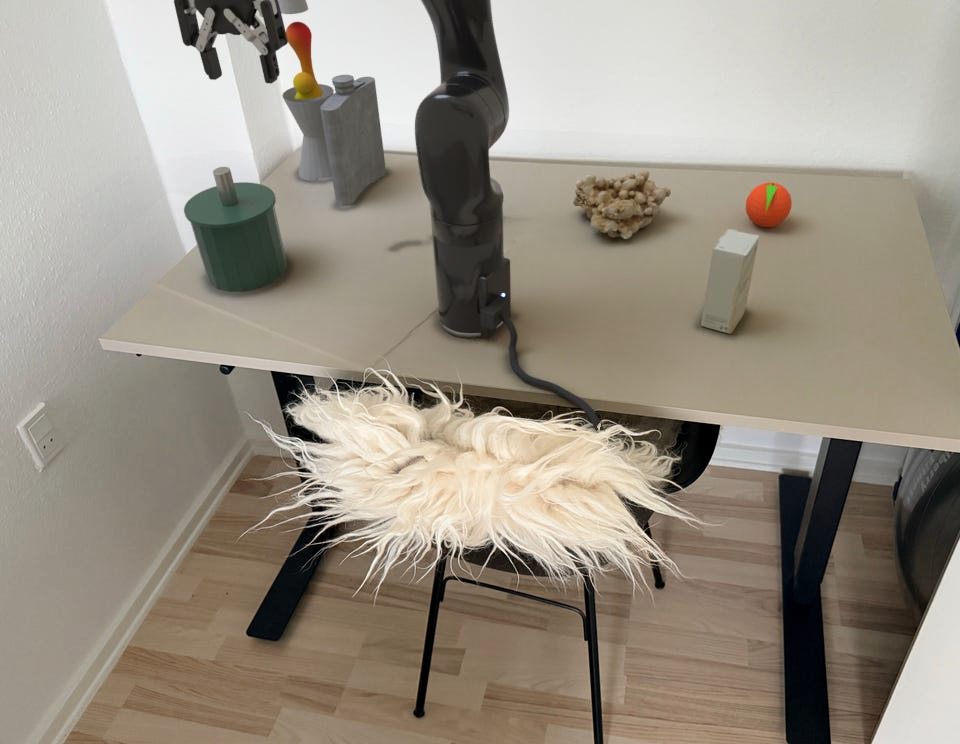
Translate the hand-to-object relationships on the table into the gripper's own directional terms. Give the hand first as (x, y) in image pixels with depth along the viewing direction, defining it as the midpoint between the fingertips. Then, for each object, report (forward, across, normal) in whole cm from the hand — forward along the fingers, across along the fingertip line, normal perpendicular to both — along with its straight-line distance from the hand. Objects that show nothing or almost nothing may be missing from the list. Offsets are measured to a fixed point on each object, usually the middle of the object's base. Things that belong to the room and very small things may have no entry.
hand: (243, 79), depth 107 cm
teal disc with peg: (+17, -4, -4) cm, 18 cm away
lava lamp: (+29, -9, +32) cm, 44 cm away
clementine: (+30, +71, +29) cm, 82 cm away
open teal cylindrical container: (+29, -5, -4) cm, 29 cm away
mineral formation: (+30, +49, +25) cm, 62 cm away
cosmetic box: (+30, +66, +1) cm, 73 cm away
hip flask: (+29, +1, +27) cm, 39 cm away
